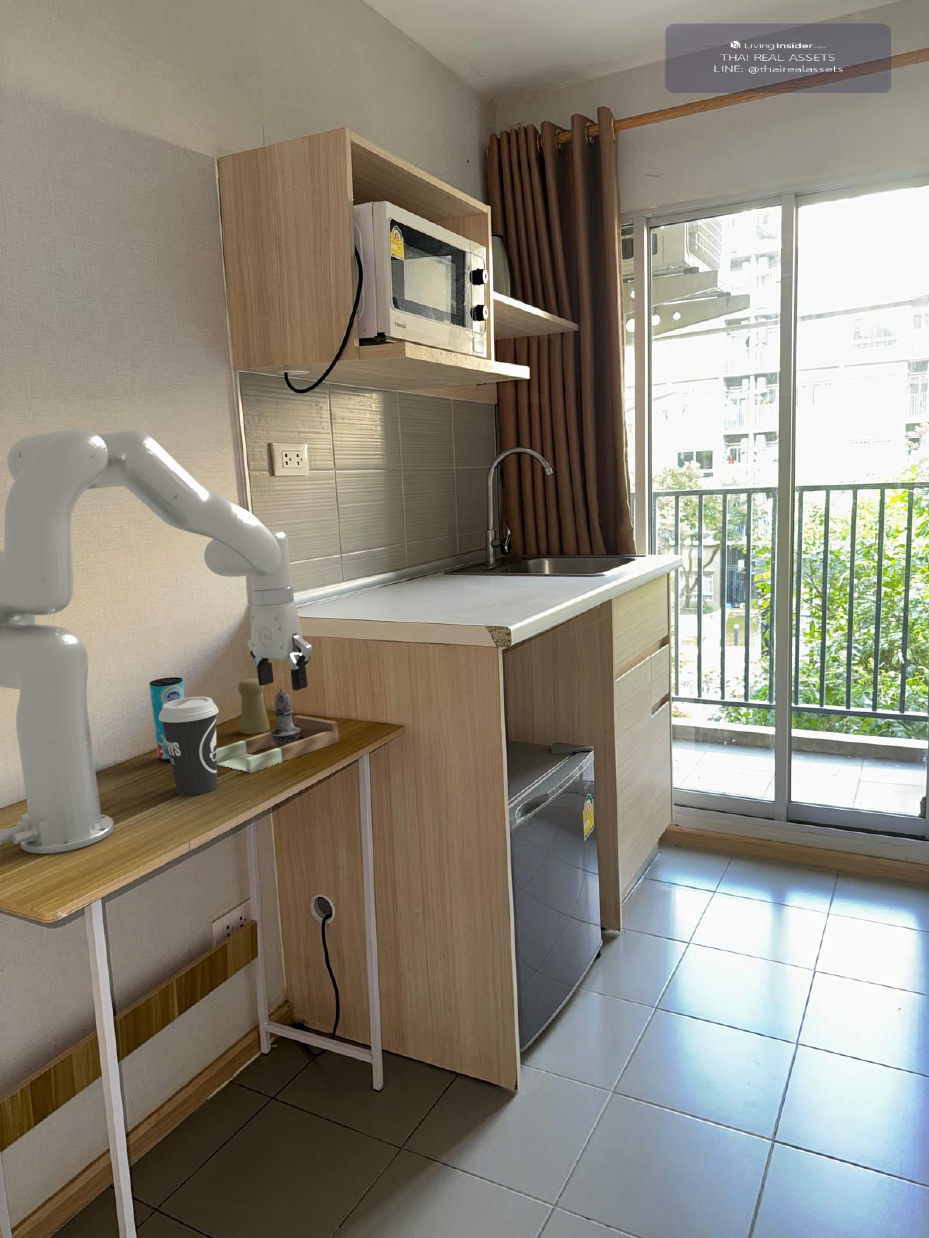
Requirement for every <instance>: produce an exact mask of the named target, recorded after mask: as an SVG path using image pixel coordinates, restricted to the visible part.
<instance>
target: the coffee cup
mask: <svg viewBox="0 0 929 1238" xmlns="http://www.w3.org/2000/svg"><path fill="white" fill-rule="evenodd" d="M219 711H220V710H219V708H218V706H217V704H215V703H214V700H213V699H212V698H211V697H208V696H190V697H189V696H188V697H185V698H181V699H176V700H172V701H169V702H167V703H165V704H163V707H162V711H161V712H160V714H159V720H160V721H162V723H163V727H164V732H165V737H166V741H167V746H168V751H169V756H170V760H171V761H170V765H171V769H172V774H173V779H174V780H173V781H174V785H175V788H176V793H177V794H178V795H180V796H187V797H188V796H189V797H191V796H198V795H204V794H208V793H211V792H212V790H213V791H214V790H216V789H217V788H216V787H218V767H217V766H218V765H217V753H216V749H217V714H218V713H219ZM215 788H216V789H215Z"/></svg>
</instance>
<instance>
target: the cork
mask: <svg viewBox="0 0 929 1238" xmlns="http://www.w3.org/2000/svg"><path fill="white" fill-rule="evenodd" d="M237 688H238V692H239V695H240V696H241V707H240V709H241V712H240V733H241V732H242V733H246V734H253V735H256V734H255V733H260V732H264V733H267V732H268V730H269V729H270V730H271V726H270V722H269V719H268V713H267V710H266V705H265V701H264V697H263V696H264V695H263V692H264V689H265V685H263V686H260V685H259V681H258V677H257V678H256V677H255V678H253V677H251V678H246V679H245V678H244V679H242V680H240V681H239V683H238V686H237ZM270 730H269V731H270ZM266 731H267V732H266ZM246 734H245V735H246ZM260 734H261V733H260Z"/></svg>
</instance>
